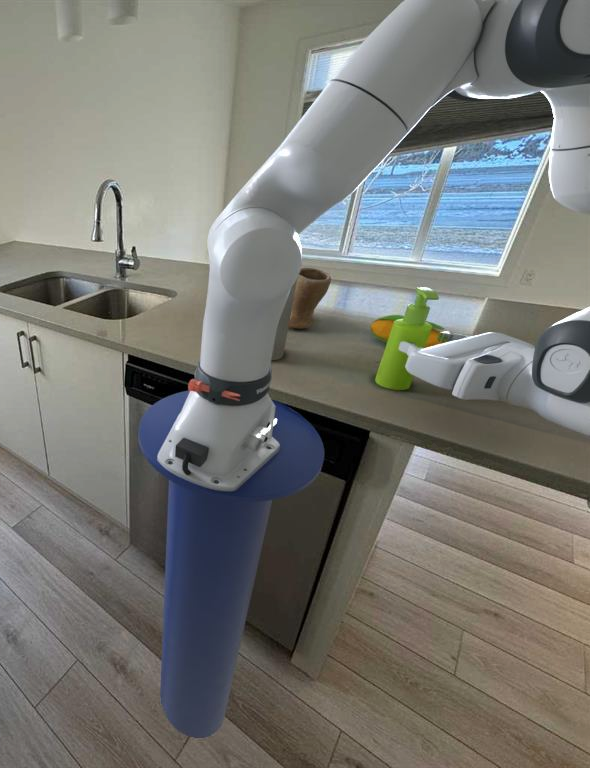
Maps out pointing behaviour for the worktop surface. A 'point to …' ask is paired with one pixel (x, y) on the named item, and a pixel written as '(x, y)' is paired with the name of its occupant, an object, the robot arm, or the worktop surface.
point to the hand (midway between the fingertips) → (421, 340)
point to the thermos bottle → (283, 326)
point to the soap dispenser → (405, 329)
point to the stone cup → (308, 296)
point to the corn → (384, 325)
